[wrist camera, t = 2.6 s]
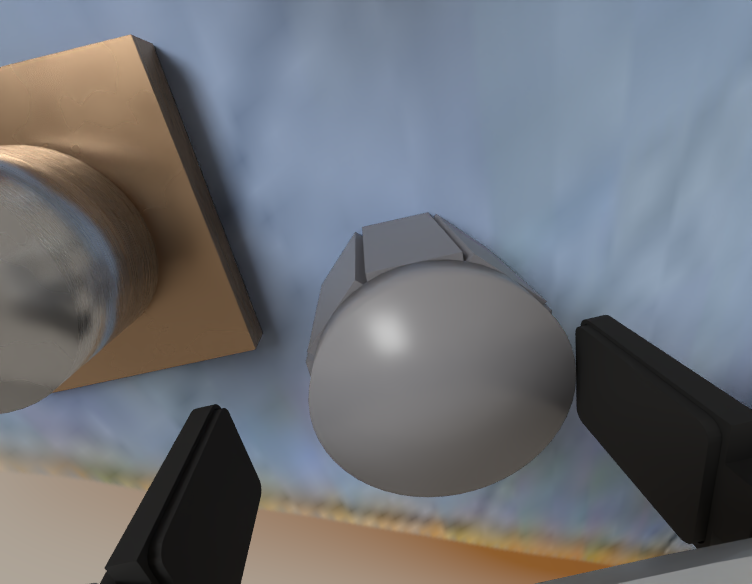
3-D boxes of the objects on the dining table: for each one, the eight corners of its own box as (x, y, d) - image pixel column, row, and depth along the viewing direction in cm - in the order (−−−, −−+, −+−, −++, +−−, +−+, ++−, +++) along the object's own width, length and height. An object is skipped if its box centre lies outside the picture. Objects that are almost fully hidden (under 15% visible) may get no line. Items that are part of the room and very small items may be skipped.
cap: (485, 199, 14) (575, 247, 8) (501, 354, 16) (576, 471, 11) (305, 239, 14) (272, 312, 8) (348, 386, 16) (345, 516, 11)
